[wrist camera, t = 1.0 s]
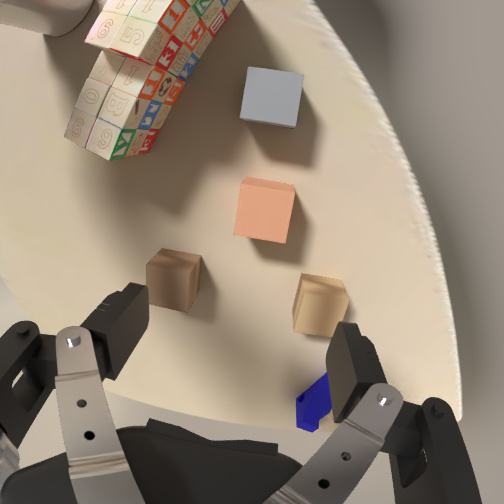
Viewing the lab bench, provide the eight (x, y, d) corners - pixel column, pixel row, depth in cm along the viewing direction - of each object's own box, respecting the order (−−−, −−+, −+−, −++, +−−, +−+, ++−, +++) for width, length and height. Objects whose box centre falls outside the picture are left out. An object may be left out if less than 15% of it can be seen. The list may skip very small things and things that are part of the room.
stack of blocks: (150, 154, 32) (88, 167, 20) (109, 133, 31) (41, 139, 19) (243, -2, 24) (224, -60, 12) (196, -17, 23) (161, -70, 12)
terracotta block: (240, 220, 33) (233, 234, 29) (246, 176, 32) (241, 183, 27) (284, 228, 33) (285, 243, 29) (292, 184, 31) (295, 192, 27)
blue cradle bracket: (317, 406, 44) (319, 435, 38) (295, 397, 43) (296, 427, 38) (368, 363, 40) (377, 392, 34) (347, 351, 39) (355, 381, 34)
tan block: (161, 283, 37) (146, 303, 33) (162, 248, 36) (146, 264, 31) (198, 291, 37) (187, 312, 33) (201, 255, 35) (189, 273, 31)
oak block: (292, 308, 37) (293, 331, 32) (301, 272, 35) (304, 293, 31) (330, 314, 37) (336, 337, 32) (341, 279, 35) (349, 300, 30)
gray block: (245, 120, 29) (239, 117, 25) (253, 77, 28) (248, 66, 23) (293, 128, 29) (295, 126, 25) (300, 84, 27) (304, 74, 23)
